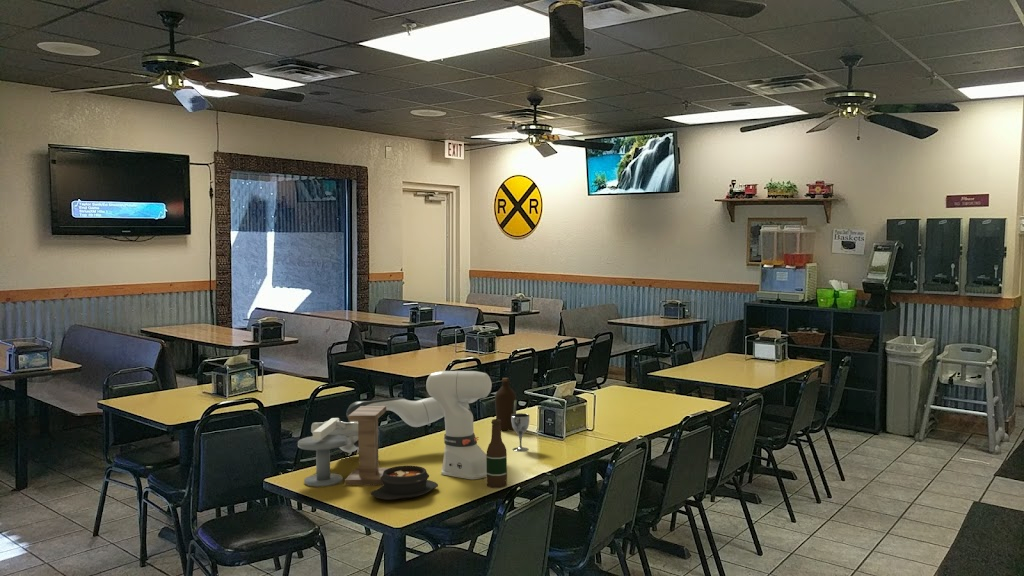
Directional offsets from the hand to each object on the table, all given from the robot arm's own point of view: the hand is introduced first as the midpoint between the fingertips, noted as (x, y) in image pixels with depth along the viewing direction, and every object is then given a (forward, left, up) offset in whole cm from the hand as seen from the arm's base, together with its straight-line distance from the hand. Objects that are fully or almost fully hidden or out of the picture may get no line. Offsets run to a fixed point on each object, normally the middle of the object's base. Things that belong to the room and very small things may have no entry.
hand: (332, 422), depth 290 cm
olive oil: (-1, -98, -19) cm, 100 cm away
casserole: (-44, 0, -19) cm, 48 cm away
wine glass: (-33, -73, -19) cm, 83 cm away
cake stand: (-9, +10, -19) cm, 23 cm away
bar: (-5, +6, -2) cm, 8 cm away
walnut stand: (-19, -3, -19) cm, 27 cm away
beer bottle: (-61, -29, -19) cm, 71 cm away
